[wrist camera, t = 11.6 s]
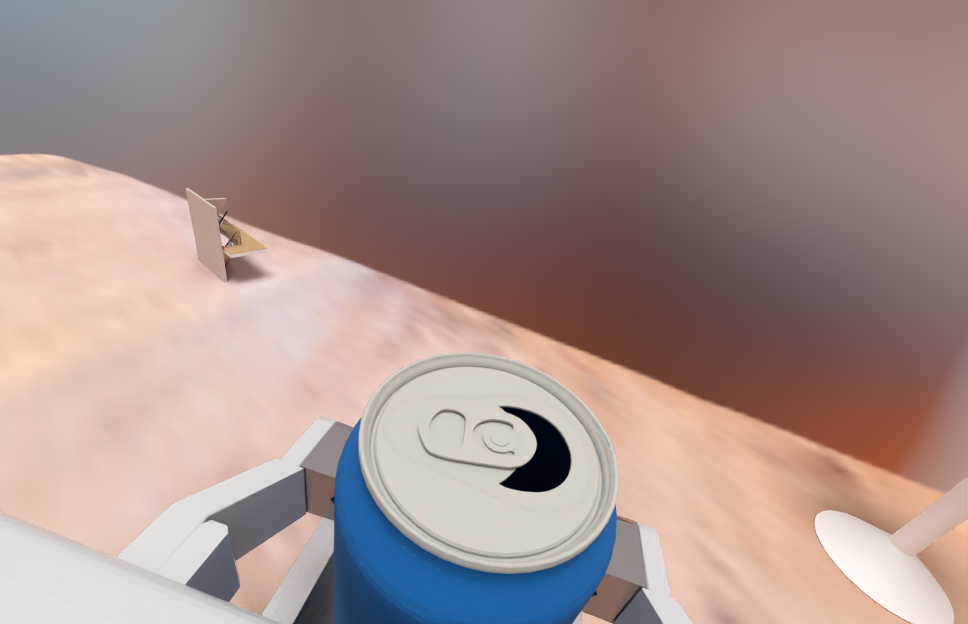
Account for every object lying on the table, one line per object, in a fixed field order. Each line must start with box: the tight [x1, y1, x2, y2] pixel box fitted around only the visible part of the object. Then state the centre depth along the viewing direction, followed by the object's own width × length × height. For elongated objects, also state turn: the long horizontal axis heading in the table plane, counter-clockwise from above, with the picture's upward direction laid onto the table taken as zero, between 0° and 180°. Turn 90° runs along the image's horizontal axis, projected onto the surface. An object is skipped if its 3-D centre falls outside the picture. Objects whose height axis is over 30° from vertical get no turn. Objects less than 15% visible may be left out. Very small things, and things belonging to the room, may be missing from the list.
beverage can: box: [333, 353, 619, 624], centre depth 11 cm, size 6×6×12 cm
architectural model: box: [186, 188, 267, 282], centre depth 35 cm, size 3×7×7 cm, turn 52°
